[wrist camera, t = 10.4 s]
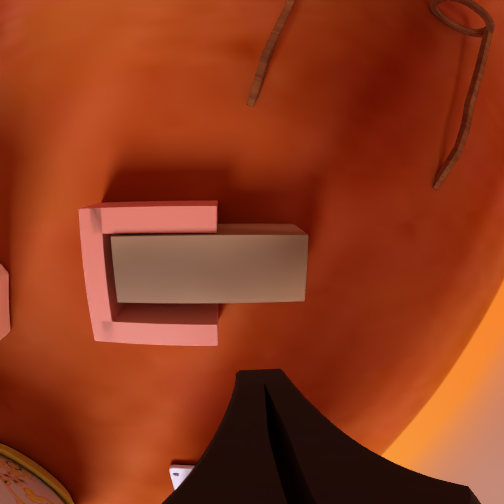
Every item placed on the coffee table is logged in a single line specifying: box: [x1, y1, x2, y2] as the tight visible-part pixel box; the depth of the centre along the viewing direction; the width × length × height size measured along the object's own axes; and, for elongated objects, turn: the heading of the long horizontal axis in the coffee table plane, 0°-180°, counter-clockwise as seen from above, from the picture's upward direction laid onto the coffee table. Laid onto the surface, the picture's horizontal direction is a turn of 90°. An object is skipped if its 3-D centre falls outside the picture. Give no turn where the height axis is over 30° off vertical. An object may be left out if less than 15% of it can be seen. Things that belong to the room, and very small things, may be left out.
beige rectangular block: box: [111, 224, 309, 303], centre depth 16 cm, size 3×9×4 cm, turn 89°
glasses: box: [247, 0, 495, 190], centre depth 14 cm, size 13×13×5 cm
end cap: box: [79, 200, 218, 346], centre depth 16 cm, size 7×7×3 cm
